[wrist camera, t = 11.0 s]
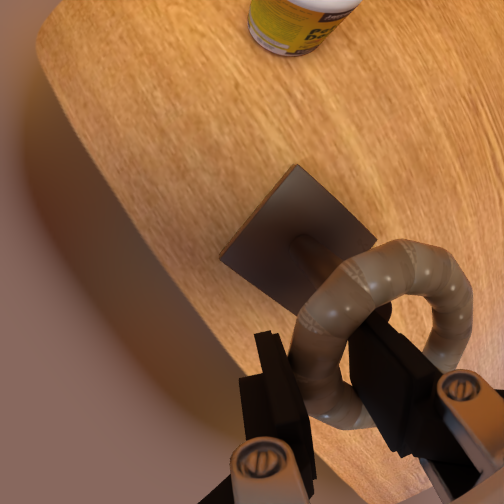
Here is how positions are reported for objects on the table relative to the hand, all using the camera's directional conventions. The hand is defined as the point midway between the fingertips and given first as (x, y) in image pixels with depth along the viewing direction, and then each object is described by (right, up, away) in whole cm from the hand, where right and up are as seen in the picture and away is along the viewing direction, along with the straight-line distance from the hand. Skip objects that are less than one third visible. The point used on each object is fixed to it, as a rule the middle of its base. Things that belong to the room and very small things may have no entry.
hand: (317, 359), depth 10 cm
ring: (+2, 0, 0) cm, 2 cm away
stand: (+1, +4, +12) cm, 13 cm away
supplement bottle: (0, +19, +8) cm, 21 cm away
